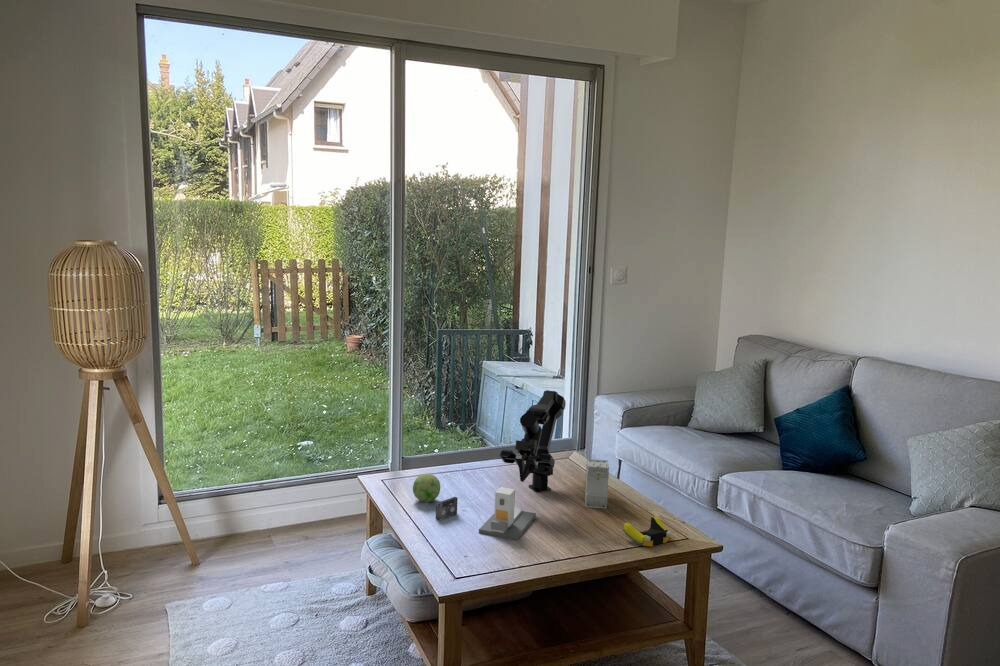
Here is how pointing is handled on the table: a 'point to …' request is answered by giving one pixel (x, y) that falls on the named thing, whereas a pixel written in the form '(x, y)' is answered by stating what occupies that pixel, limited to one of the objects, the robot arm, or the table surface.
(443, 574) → the table surface
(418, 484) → the decorative ball
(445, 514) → the mini dv tape
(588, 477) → the circuit breaker
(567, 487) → the table surface
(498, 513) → the block
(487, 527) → the din rail plate
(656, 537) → the gaming controller
